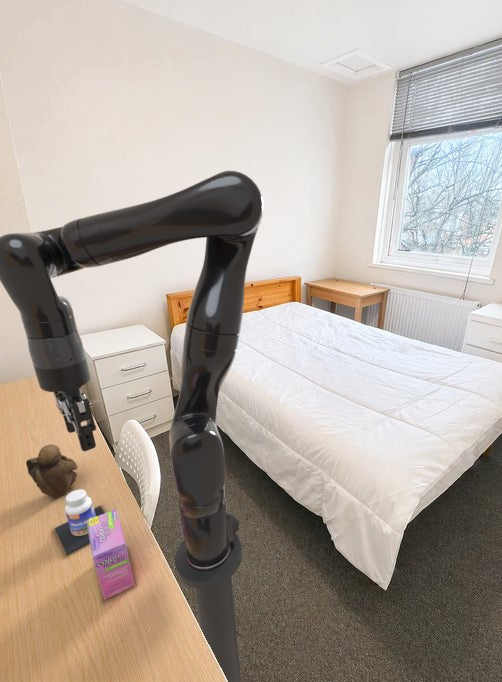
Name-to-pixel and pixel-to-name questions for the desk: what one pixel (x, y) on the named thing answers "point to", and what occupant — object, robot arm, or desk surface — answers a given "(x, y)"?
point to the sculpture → (52, 471)
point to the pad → (72, 541)
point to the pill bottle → (79, 511)
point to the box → (110, 554)
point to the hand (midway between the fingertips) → (81, 439)
